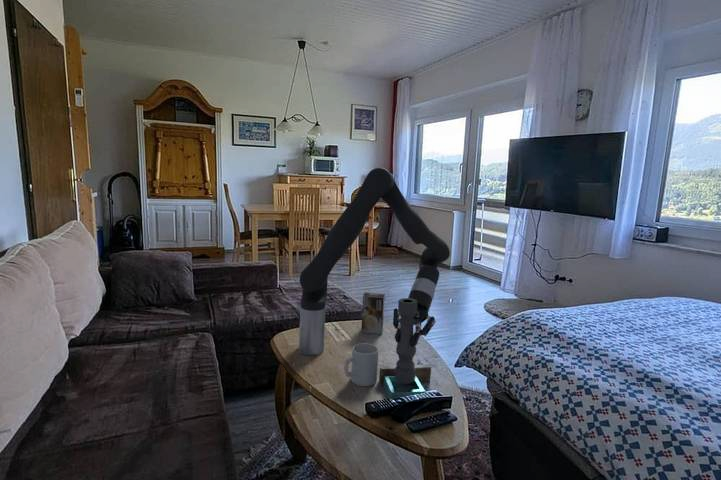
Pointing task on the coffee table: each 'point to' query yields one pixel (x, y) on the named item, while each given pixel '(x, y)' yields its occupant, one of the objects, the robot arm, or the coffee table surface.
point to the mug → (363, 364)
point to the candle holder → (406, 341)
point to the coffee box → (373, 313)
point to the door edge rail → (420, 371)
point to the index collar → (392, 382)
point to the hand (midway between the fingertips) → (404, 343)
